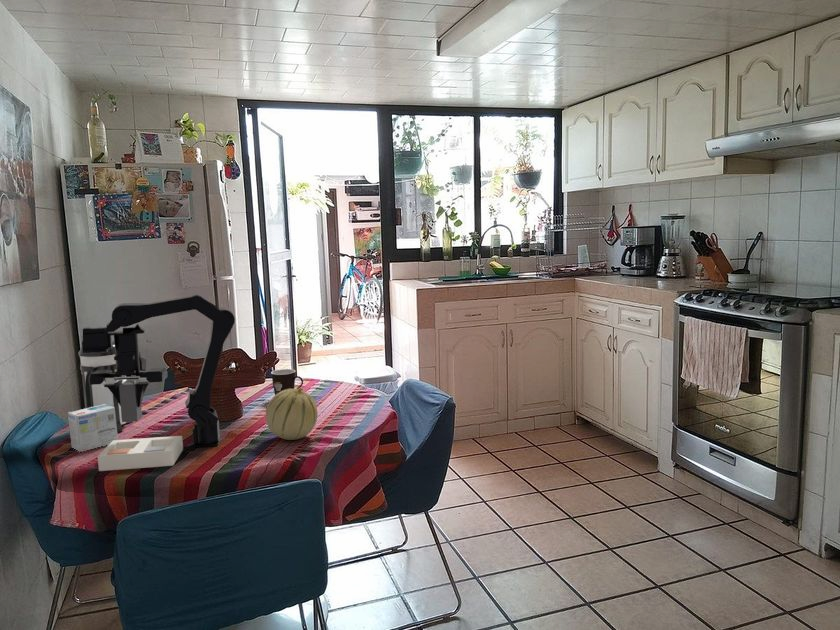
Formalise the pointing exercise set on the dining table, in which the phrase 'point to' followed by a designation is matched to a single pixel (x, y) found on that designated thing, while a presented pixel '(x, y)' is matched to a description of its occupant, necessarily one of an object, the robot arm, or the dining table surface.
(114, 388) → the robot arm
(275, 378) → the coffee mug
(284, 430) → the cantaloupe
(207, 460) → the dining table surface
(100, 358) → the coffee press
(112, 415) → the light bulb box
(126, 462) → the socket block
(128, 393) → the grey rectangular block
